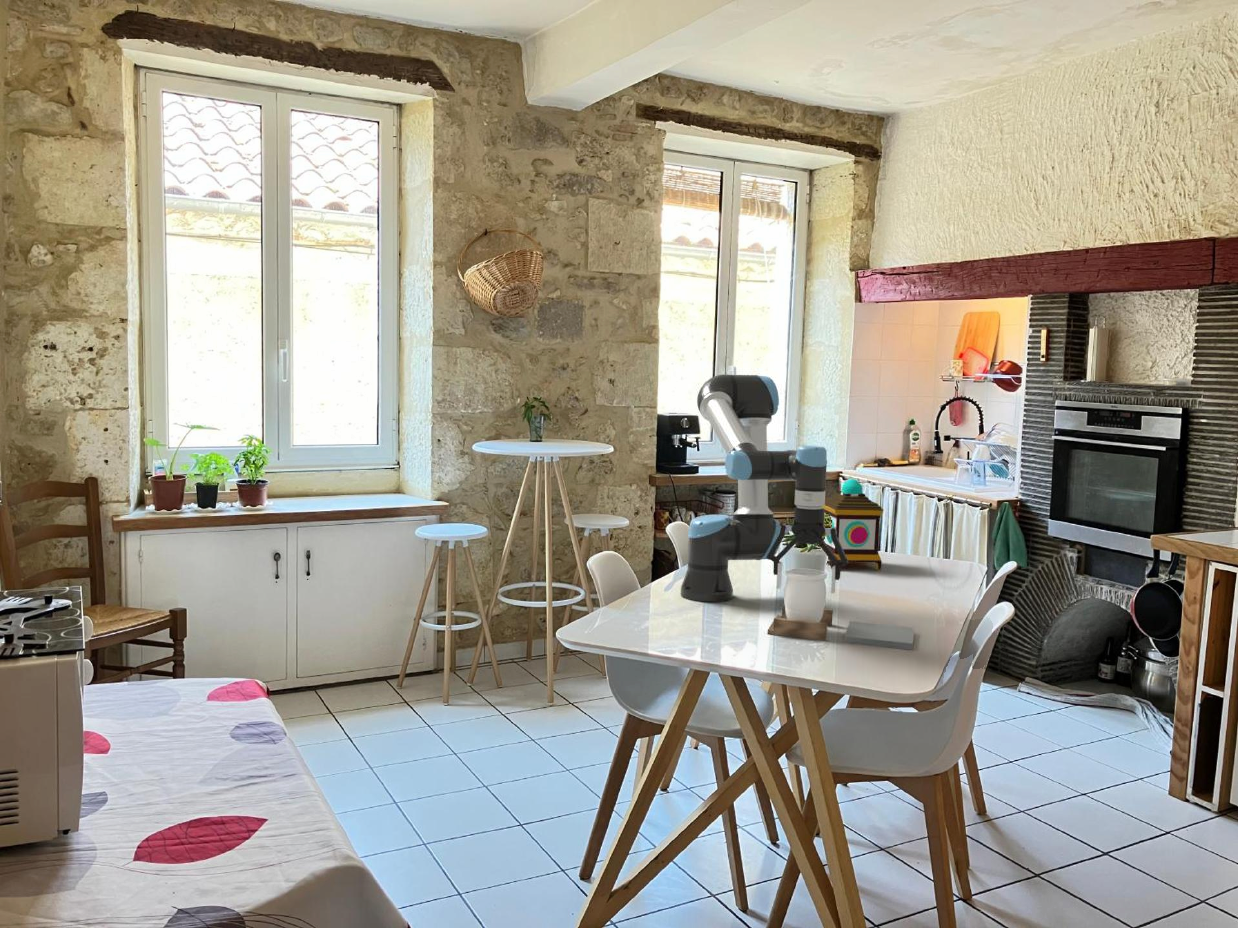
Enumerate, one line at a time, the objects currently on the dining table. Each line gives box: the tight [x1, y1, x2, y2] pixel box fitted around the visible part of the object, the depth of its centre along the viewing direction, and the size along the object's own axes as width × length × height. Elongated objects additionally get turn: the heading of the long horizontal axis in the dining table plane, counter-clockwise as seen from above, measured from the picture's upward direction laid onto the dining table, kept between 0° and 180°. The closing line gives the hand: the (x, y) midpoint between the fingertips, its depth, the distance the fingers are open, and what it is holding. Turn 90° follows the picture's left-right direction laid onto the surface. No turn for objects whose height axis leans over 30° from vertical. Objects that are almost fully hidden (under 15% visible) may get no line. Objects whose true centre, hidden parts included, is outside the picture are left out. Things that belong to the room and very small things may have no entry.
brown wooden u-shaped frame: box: [766, 604, 834, 641], centre depth 253 cm, size 14×16×4 cm
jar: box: [783, 567, 828, 622], centre depth 252 cm, size 11×10×15 cm
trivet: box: [844, 620, 915, 650], centre depth 247 cm, size 16×16×2 cm
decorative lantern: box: [822, 478, 884, 571], centre depth 337 cm, size 20×20×30 cm
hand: (805, 590), depth 251 cm, fingers open, 13 cm apart
